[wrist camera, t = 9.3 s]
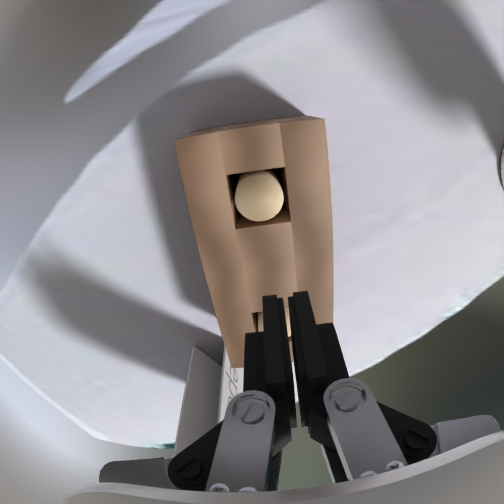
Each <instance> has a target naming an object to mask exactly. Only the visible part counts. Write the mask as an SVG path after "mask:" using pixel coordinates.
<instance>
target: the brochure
mask: <svg viewBox="0 0 504 504" xmlns="http://www.w3.org/2000/svg"><path fill="white" fill-rule="evenodd" d="M243 377H244V368H231V364H230V361H229V358H228V354H227V351H226V348H225V344H224V354H223V365H222V366H221V365H219V364H218V363H217V362H215V361H214V360H212V359H211V358H210V357H209V356H207V355H206V354H205V353H203V352H202V351H201V350H199V349H198V348H197V347H196V346H193V349H192V354H191V359H190V365H189V370H188V375H187V380H186V386H185V391H184V396H183V402H182V407H181V413H180V419H179V425H178V430H177V436H176V442H175V449H174V455H173V458H174V457H175V456H176V455H177V454H178V453H180V452H181V451H182V450H184V449H185V448H187V447H188V446H189V445H191V444H192V443H193V442H195V441H196V440H198V439H199V438H200V437H202V436H203V435H204V434H205V433H207V432H208V431H209V430H211V429H212V428H213V427H215V426H216V425H217V424H218V423H220V422H221V421H222V420H223V419H224V416H225V412H226V408H227V406H228V404H229V402H230V401H231V400H232V398H233V397H235V396H236V395H238V394H239V393H242V392H243Z"/></svg>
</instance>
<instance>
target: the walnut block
mask: <svg viewBox="0 0 504 504" xmlns="http://www.w3.org/2000/svg"><path fill="white" fill-rule="evenodd" d="M174 145H175V150H176V155H177V159H178V164H179V169H180V173H181V178H182V183H183V187H184V192H185V196H186V200H187V205H188V209H189V213H190V217H191V222H192V226H193V230H194V234H195V238H196V242H197V246H198V250H199V254H200V258H201V262H202V266H203V269H204V273H205V277H206V281H207V284H208V288H209V292H210V296H211V299H212V303H213V306H214V310H215V313H216V317H217V321H218V324H219V327H220V331H221V334H222V338H223V341H224V344H225V348H226V351H227V354H228V358H229V361H230V364H231V368H244V346H245V333H250V332H259V330H258V312H262V311H263V305H262V296H267V295H275V294H277V298H283V301H284V309H286V308H289V307H288V297H291V296H293V292H299V291H308V294H309V298H310V302H311V305H312V309H313V313H314V317H315V321H316V324H323V323H330V322H332V323H333V229H332V206H331V188H330V174H329V161H328V149H327V138H326V129H325V119H322V118H317V117H312V116H296V117H286V118H277V119H268V120H261V121H253V122H246V123H240V124H233V125H227V126H221V127H216V128H210V129H205V130H200V131H195V132H191V133H189V134H187V135H185V136H182V137H180V138H178V139H176V140H174ZM272 168H279V174H280V182H281V189H282V191H283V196H284V200H283V205H282V208H281V209H280V211H279V212H278V213H277V214H276V215H275V216H274V217H273V218H271V219H269V220H266V221H253V220H250V219H247V218H246V217H244V216H243V215H242V214H241V213H240V212H239V210H238V209H237V206H236V203H235V193H236V182H235V176H234V174H236V173H243V172H250V171H257V170H264V169H272ZM288 339H289V347H290V355H291V362H294V359H293V351H292V340H291V336H289V337H288Z"/></svg>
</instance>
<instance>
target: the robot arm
mask: <svg viewBox="0 0 504 504" xmlns="http://www.w3.org/2000/svg"><path fill="white" fill-rule="evenodd" d="M501 178H502V183H503V187H504V147H503V151H502V156H501ZM262 305H263V331H260V332H250V333H245V346H244V377H243V392H242V393H239V394H238V395H236V396H235V397H233V398H232V400H231V401H230V402H229V404H228V406H227V408H226V412H225V416H224V419H223V420H222V421H221V422H220V423H218V424H217V425H216V426H215V427H213V428H212V429H211V430H209V431H208V432H207V433H205V434H204V435H203V436H202V437H200V438H199V439H198V440H196V441H195V442H193V443H192V444H191V445H189V446H188V447H187V448H185V449H184V450H182V451H181V452H180V453H178V454H177V455H176V456H175V457H174V458H170V459H164V457H160V458H152V459H139V460H125V461H113V462H109V463H107V464H106V465H104V466H103V468H102V469H101V471H100V475H99V483H92V484H86V485H81V486H78V487H75V488H73V489H71V490H69V491H68V492H67V493H66V494H65V495H64V496H63V497H62V499H61V500H60V502H59V504H504V431H500V428H499V425H498V422H497V421H496V420H495V419H494V418H493V417H491V416H489V415H481V416H475V417H470V418H465V419H459V420H453V421H445V422H438V423H437V424H436V425H433V426H429V425H427V424H426V423H424V422H421V421H419V420H417V419H414V418H412V417H410V416H407V415H405V414H403V413H401V412H398V411H396V410H394V409H392V408H389V407H387V406H385V405H383V404H381V403H379V402H377V401H376V400H375V398H374V396H373V394H372V392H371V391H370V389H369V388H368V386H367V385H366V384H364V383H363V382H361V381H359V380H357V379H352V378H349V375H348V371H347V368H346V365H345V361H344V358H343V354H342V351H341V347H340V344H339V341H338V337H337V334H336V331H335V328H334V325H333V323H332V322H330V323H323V324H316V321H315V317H314V313H313V309H312V305H311V302H310V298H309V294H308V291H299V292H293V296H291V297H288V307H289V317H290V329H291V340H292V351H293V359H294V367H295V375H296V383H297V391H298V399H299V407H300V415H301V424H302V427H304V426H308V433H309V434H310V437H311V438H312V439H314V440H316V441H317V442H319V443H320V445H321V449H322V451H323V455H324V458H325V461H326V464H327V467H328V470H329V473H330V476H331V479H332V482H333V484H329V485H323V486H317V487H310V488H301V489H292V490H282V491H278V484H279V475H280V469H281V460H282V453H283V448H284V447H285V446H286V445H287V444H288V443H289V442H290V441H291V440H292V439H291V428H295V427H297V422H296V408H295V393H294V381H293V372H292V363H291V355H290V347H289V339H288V331H287V324H286V316H285V309H284V301H283V298H277V294H275V295H267V296H262Z"/></svg>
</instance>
